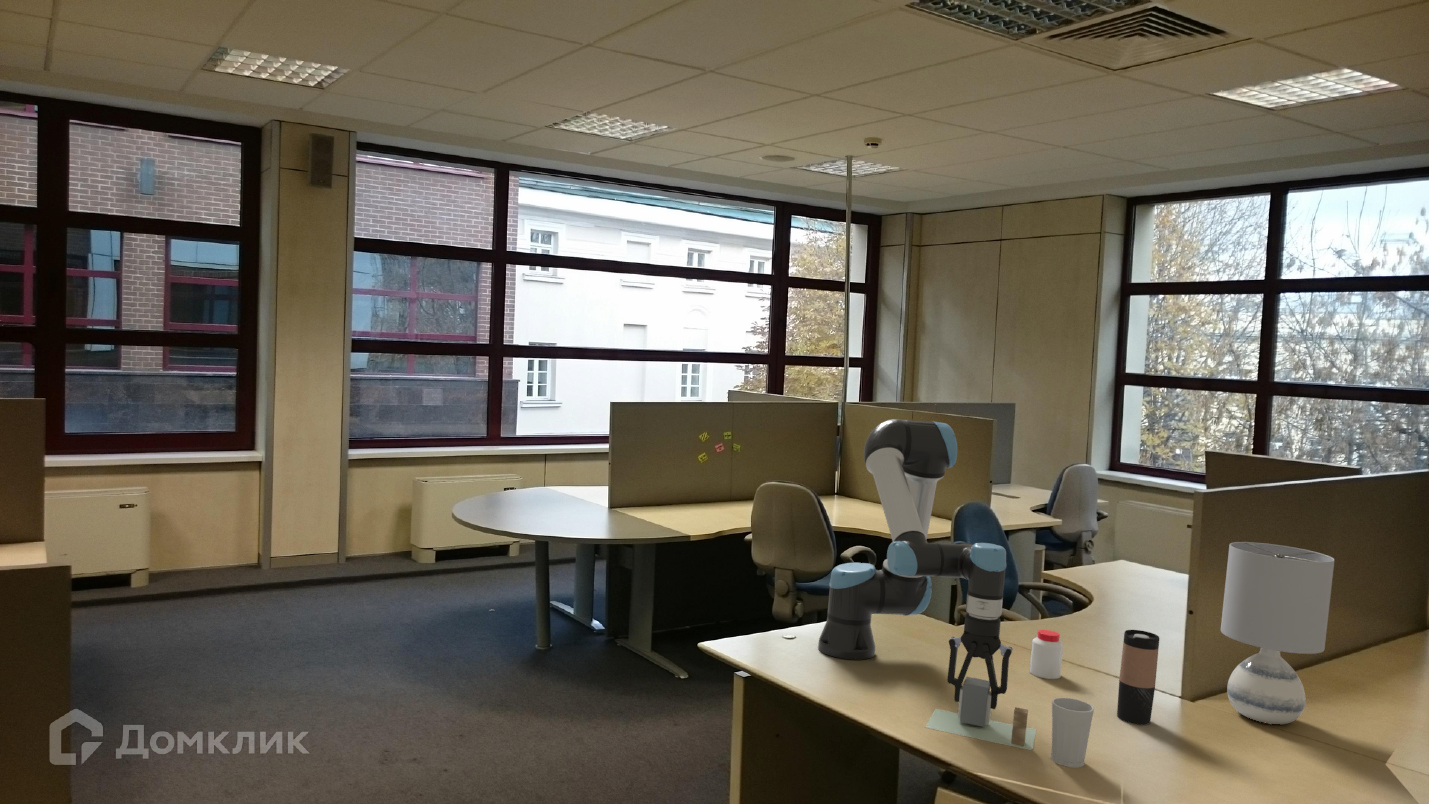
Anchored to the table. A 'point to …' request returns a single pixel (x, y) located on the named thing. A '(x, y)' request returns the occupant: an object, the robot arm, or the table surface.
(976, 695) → the tall gray brick
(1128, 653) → the travel mug
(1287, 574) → the lamp
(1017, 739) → the oak post
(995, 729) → the board
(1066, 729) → the cup
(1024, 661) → the table surface
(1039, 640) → the pill bottle
